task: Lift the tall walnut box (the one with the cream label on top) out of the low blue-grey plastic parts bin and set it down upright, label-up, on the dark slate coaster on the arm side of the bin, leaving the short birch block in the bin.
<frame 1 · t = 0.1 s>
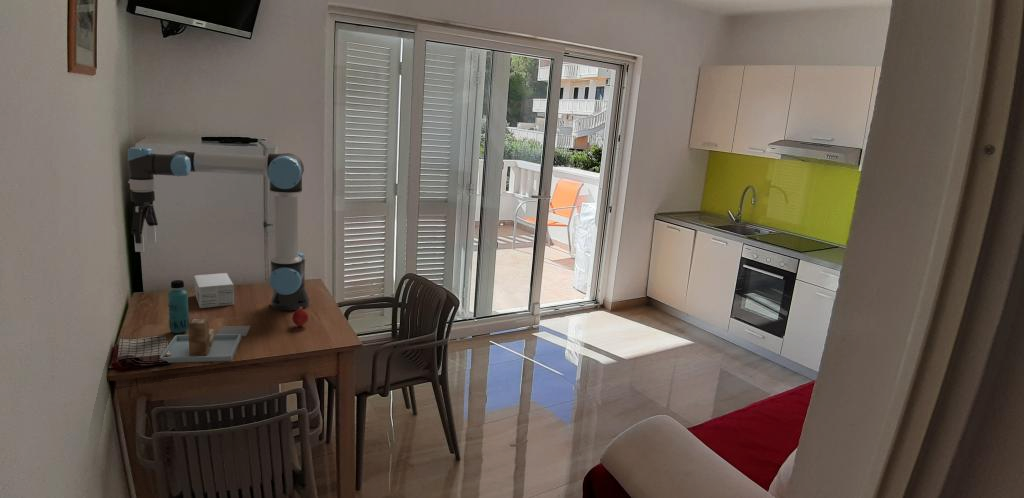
hand: (146, 247, 221), 28 cm above the table, tool pointing down, fingers open, 13 cm apart
slate coaster: (233, 332, 220), on the table
birch block: (205, 344, 207), resting on parts bin
onion: (300, 327, 231), on the table
beverage bottle: (179, 334, 215), on the table
walnut box: (199, 354, 200), resting on parts bin
supplement box: (214, 300, 251), on the table
parts bin: (202, 350, 203), on the table
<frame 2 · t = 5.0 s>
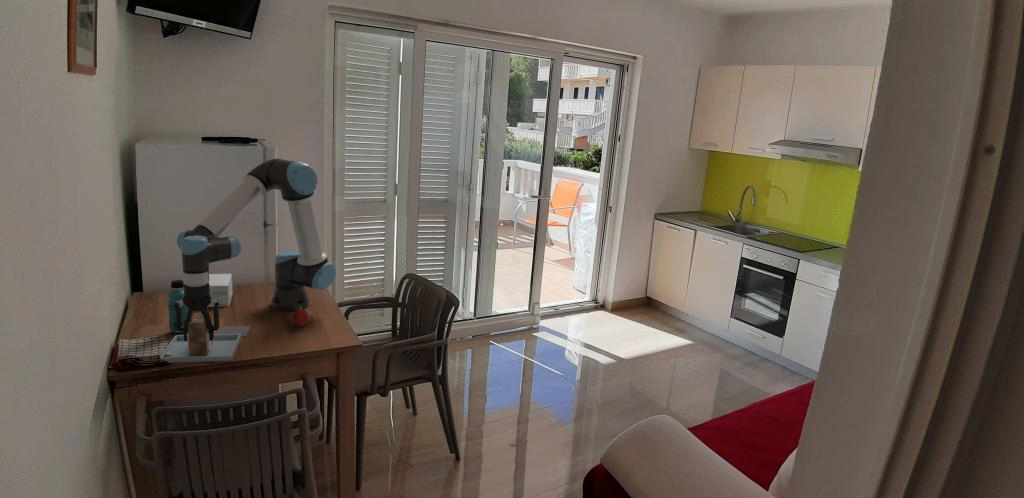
hand: (199, 349, 199), 2 cm above the table, tool pointing down, fingers closed on walnut box, 5 cm apart
walnut box: (199, 354, 200), resting on parts bin, touching gripper
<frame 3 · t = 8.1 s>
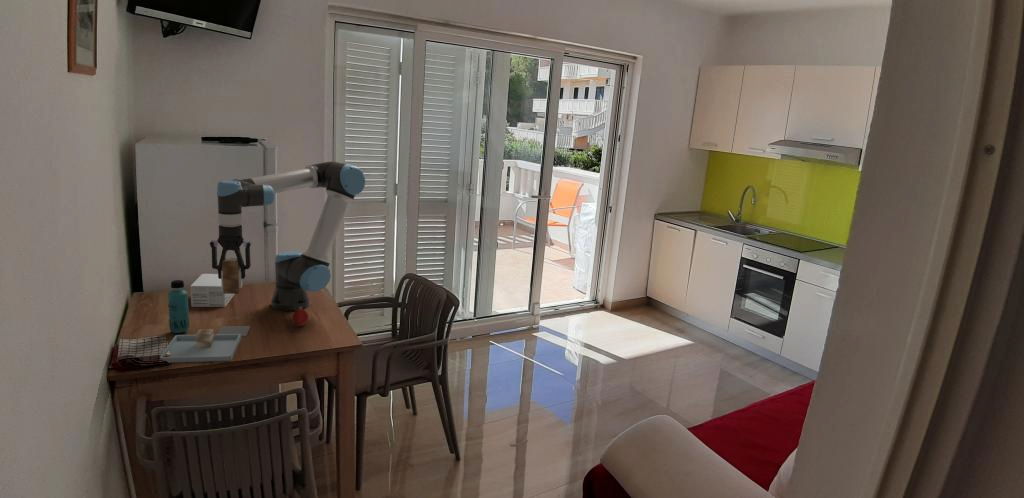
hand: (232, 286, 216), 18 cm above the table, tool pointing down, fingers closed on walnut box, 5 cm apart
walnut box: (232, 291, 216), point 16 cm above the table, touching gripper
when the fingers open (4 cm above the table, at t = 11.1 s): walnut box drops 2 cm, resting on slate coaster.
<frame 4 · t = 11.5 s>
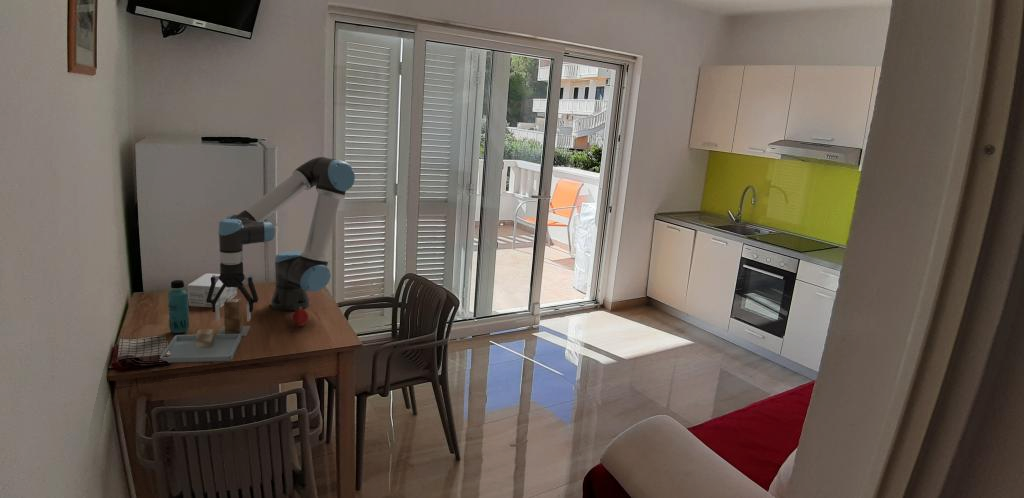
hand: (233, 320, 219), 5 cm above the table, tool pointing down, fingers open, 10 cm apart
walnut box: (233, 331, 220), point 1 cm above the table, touching slate coaster
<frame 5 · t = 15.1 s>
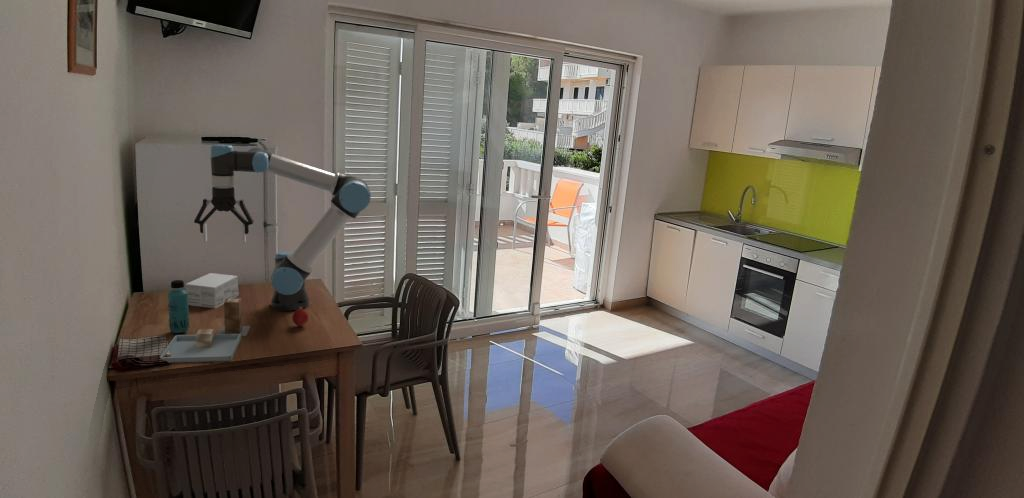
hand: (225, 241, 227), 31 cm above the table, tool pointing down, fingers open, 13 cm apart
at the end: walnut box inside the target area on the slate coaster (0.0 cm from its centre), point 0.6 cm above the slate coaster's base; walnut box tilted 0°; the gripper is holding nothing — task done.
